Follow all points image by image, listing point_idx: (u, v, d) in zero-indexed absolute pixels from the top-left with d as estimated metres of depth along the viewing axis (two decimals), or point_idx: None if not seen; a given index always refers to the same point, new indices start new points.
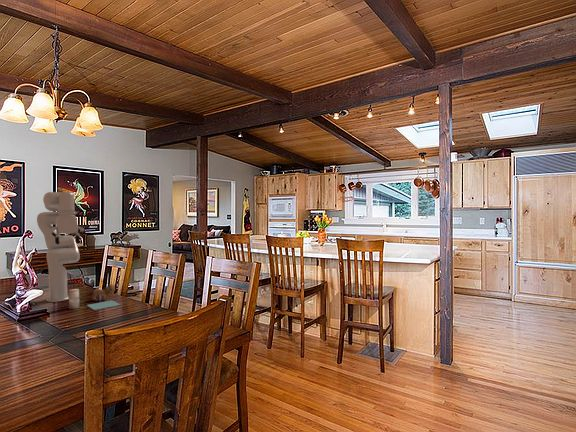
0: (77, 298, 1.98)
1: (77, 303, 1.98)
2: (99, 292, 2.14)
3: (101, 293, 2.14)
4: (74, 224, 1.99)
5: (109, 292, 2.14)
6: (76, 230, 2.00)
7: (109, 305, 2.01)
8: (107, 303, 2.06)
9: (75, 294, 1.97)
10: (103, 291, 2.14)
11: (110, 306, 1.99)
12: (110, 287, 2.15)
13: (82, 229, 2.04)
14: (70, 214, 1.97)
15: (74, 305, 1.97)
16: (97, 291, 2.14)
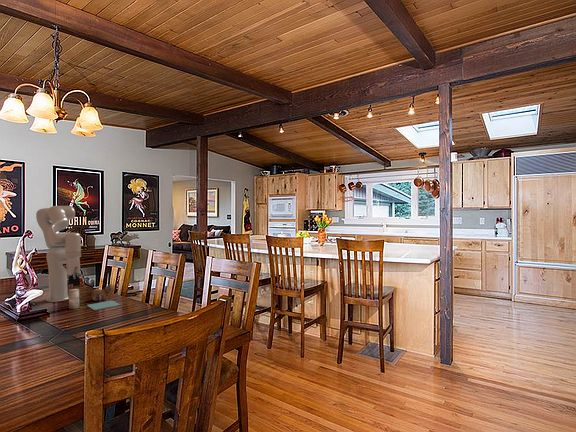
0: (77, 298, 1.98)
1: (77, 303, 1.98)
2: (98, 292, 2.14)
3: (100, 293, 2.14)
4: None
5: (108, 292, 2.14)
6: None
7: (109, 305, 2.01)
8: (107, 303, 2.06)
9: (75, 294, 1.97)
10: (102, 291, 2.14)
11: (110, 306, 1.99)
12: (109, 287, 2.15)
13: None
14: None
15: (74, 305, 1.97)
16: (96, 291, 2.14)
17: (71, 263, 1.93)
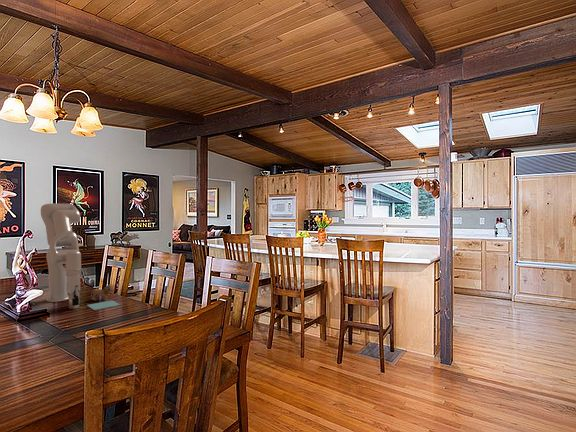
0: None
1: None
2: (98, 292, 2.14)
3: (100, 293, 2.14)
4: None
5: (107, 292, 2.14)
6: None
7: (109, 305, 2.01)
8: (107, 303, 2.06)
9: None
10: (102, 291, 2.14)
11: (110, 306, 1.99)
12: (109, 287, 2.15)
13: None
14: None
15: None
16: (95, 291, 2.14)
17: (71, 282, 1.94)
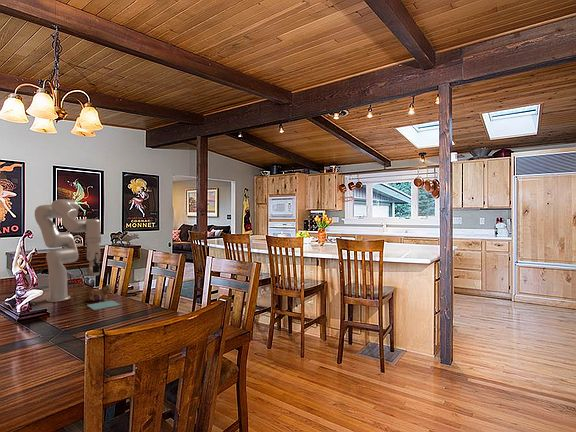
0: None
1: None
2: (96, 292, 2.14)
3: (98, 293, 2.14)
4: None
5: (106, 292, 2.14)
6: None
7: (109, 305, 2.01)
8: (107, 303, 2.06)
9: None
10: (100, 291, 2.14)
11: (110, 306, 1.99)
12: (107, 287, 2.15)
13: None
14: None
15: None
16: (94, 291, 2.14)
17: (92, 249, 1.96)
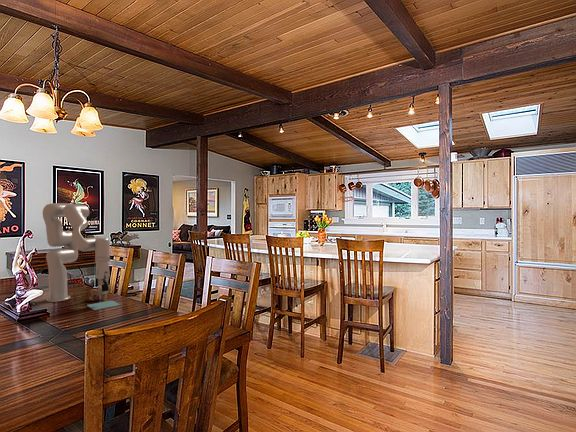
0: None
1: None
2: (95, 292, 2.14)
3: (97, 293, 2.14)
4: None
5: None
6: None
7: (109, 305, 2.01)
8: (107, 303, 2.06)
9: None
10: None
11: (110, 306, 1.99)
12: None
13: None
14: None
15: None
16: (93, 291, 2.14)
17: (101, 268, 1.97)
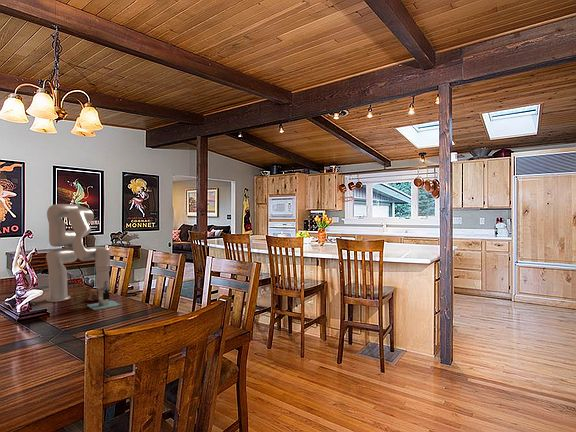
0: None
1: (106, 301, 2.02)
2: (94, 292, 2.14)
3: (96, 293, 2.14)
4: None
5: None
6: None
7: (109, 305, 2.01)
8: None
9: None
10: None
11: (110, 306, 1.99)
12: None
13: None
14: None
15: (103, 303, 2.00)
16: (92, 291, 2.14)
17: (101, 277, 1.98)
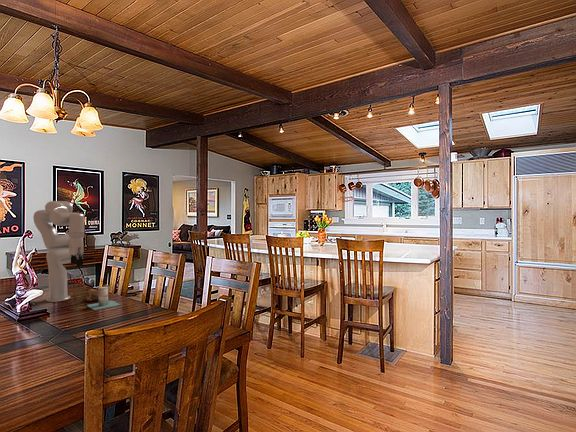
0: (106, 296, 2.02)
1: (106, 301, 2.02)
2: (93, 292, 2.14)
3: (95, 293, 2.14)
4: None
5: None
6: None
7: (109, 305, 2.01)
8: None
9: (104, 292, 2.01)
10: None
11: (110, 306, 1.99)
12: None
13: None
14: None
15: (103, 303, 2.00)
16: (91, 291, 2.14)
17: (75, 243, 1.95)
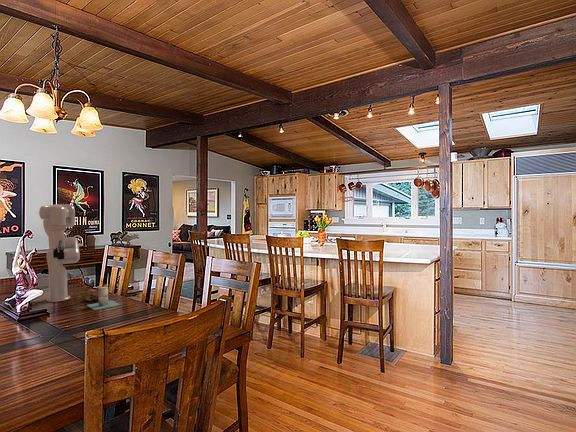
0: (106, 296, 2.02)
1: (106, 301, 2.02)
2: (93, 292, 2.14)
3: (95, 293, 2.14)
4: None
5: None
6: None
7: (109, 305, 2.01)
8: None
9: (104, 292, 2.01)
10: (97, 291, 2.14)
11: (110, 306, 1.99)
12: None
13: None
14: None
15: (103, 303, 2.00)
16: (90, 291, 2.14)
17: (55, 236, 1.93)
